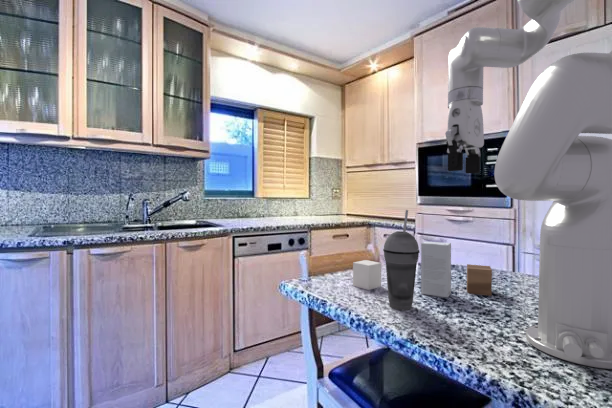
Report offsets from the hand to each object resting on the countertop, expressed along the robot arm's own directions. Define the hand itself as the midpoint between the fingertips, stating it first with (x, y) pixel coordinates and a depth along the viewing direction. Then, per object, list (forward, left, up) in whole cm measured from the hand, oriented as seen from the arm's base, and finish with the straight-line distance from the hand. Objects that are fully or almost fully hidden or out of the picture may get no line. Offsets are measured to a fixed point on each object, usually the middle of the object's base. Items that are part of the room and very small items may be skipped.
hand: (464, 171), depth 78 cm
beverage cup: (-19, +9, -29) cm, 36 cm away
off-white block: (-9, +21, -29) cm, 37 cm away
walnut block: (+2, -3, -29) cm, 29 cm away
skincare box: (-6, +5, -29) cm, 30 cm away
